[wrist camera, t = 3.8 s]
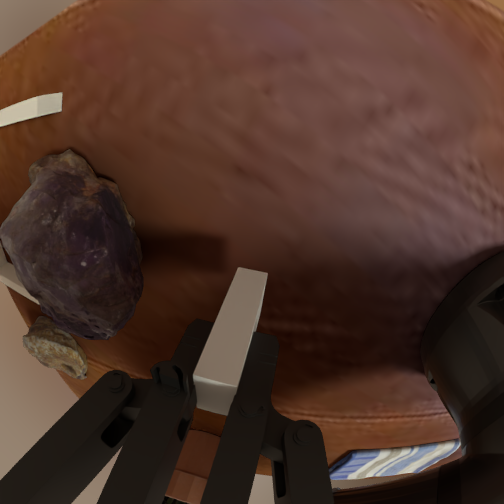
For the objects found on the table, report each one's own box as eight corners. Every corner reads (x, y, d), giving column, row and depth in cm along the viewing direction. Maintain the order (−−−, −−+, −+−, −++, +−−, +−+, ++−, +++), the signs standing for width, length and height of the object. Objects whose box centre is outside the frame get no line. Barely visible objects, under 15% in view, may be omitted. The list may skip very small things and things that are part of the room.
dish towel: (418, 464, 38) (418, 474, 35) (323, 469, 41) (322, 481, 38) (464, 434, 29) (465, 446, 26) (353, 445, 32) (353, 461, 29)
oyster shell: (40, 339, 35) (23, 361, 30) (36, 297, 28) (11, 324, 23) (87, 378, 37) (72, 403, 32) (97, 349, 30) (75, 382, 25)
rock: (91, 264, 23) (187, 290, 21) (39, 334, 16) (138, 387, 15) (53, 143, 15) (166, 136, 14) (-37, 208, 8) (43, 229, 7)
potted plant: (183, 443, 42) (145, 543, 21) (158, 414, 36) (104, 538, 15) (251, 457, 39) (221, 567, 18) (241, 432, 33) (198, 577, 12)
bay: (62, 92, 13) (37, 96, 11) (95, 311, 24) (82, 326, 22) (-24, 122, 16) (-39, 128, 13) (6, 268, 27) (-5, 277, 24)
